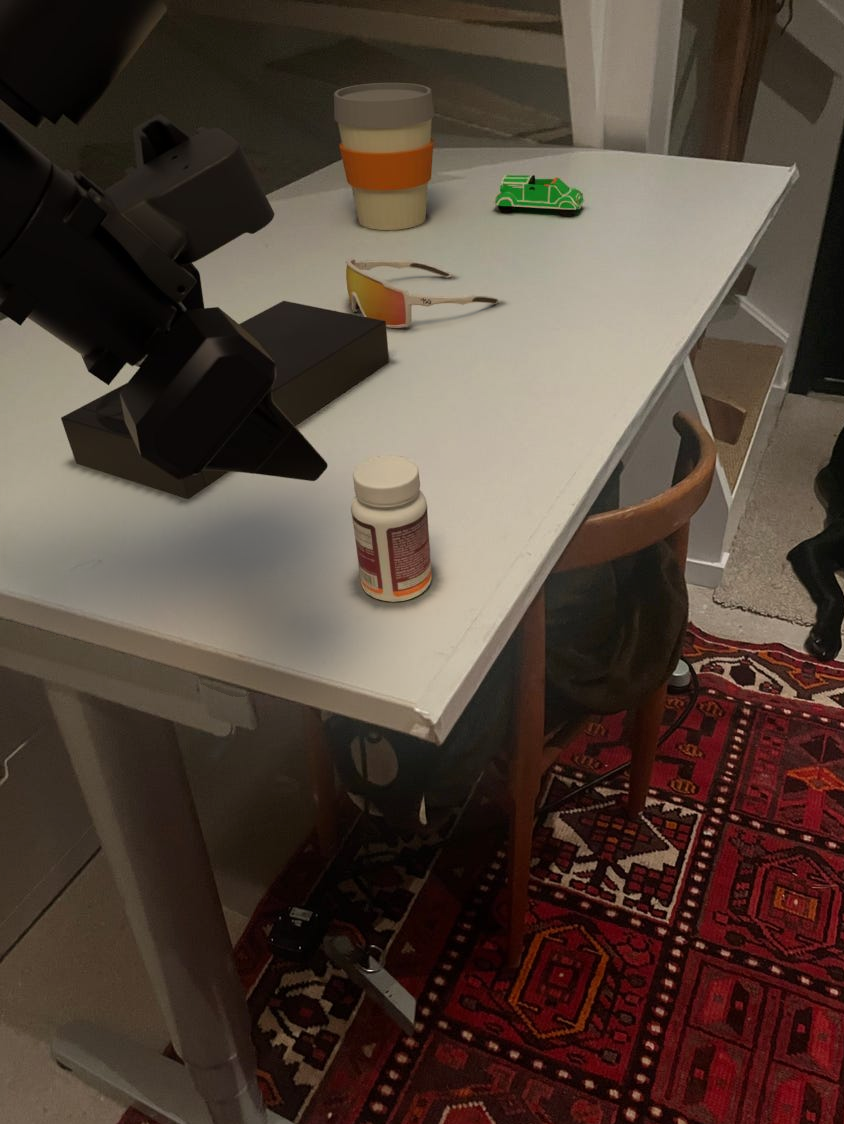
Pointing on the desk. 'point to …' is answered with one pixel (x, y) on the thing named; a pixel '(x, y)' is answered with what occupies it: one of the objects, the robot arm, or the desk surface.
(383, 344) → the base
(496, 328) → the desk surface
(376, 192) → the reusable coffee cup
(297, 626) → the desk surface
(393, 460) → the pill bottle
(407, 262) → the sunglasses
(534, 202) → the toy car
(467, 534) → the desk surface
